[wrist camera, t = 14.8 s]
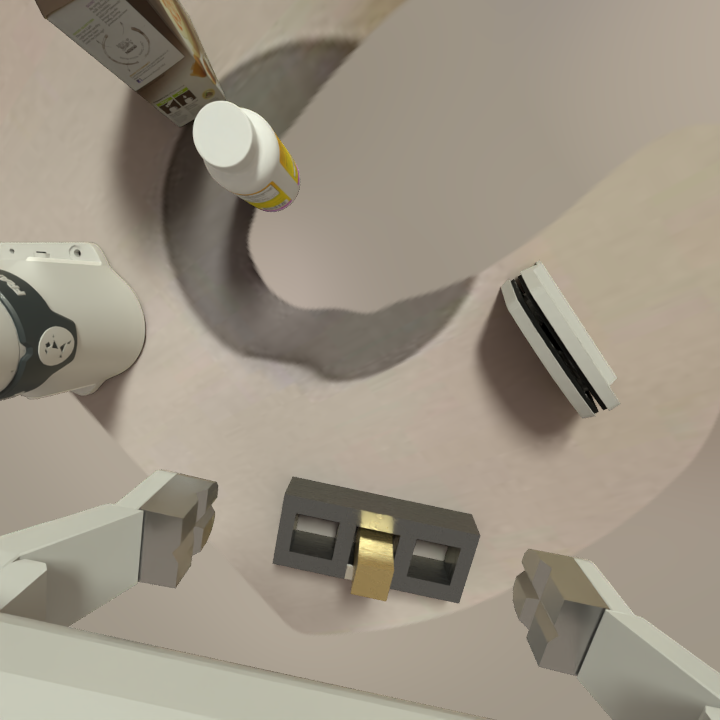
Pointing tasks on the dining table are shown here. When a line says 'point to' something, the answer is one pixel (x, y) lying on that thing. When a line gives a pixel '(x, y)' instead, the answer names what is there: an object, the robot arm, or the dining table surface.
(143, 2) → the grey food box
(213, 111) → the supplement bottle
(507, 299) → the grey rounded block
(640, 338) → the dining table surface
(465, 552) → the grey peg holder
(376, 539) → the brass peg
